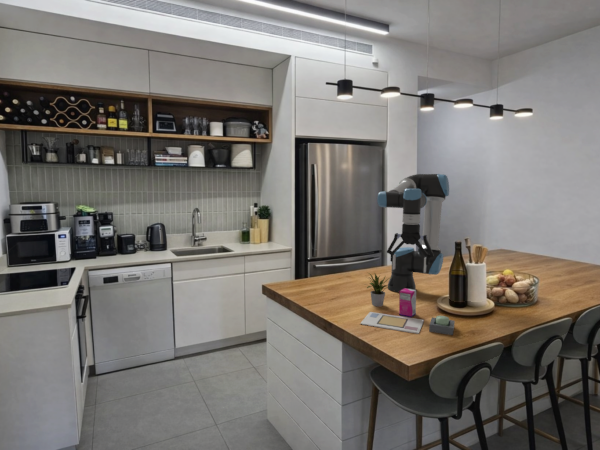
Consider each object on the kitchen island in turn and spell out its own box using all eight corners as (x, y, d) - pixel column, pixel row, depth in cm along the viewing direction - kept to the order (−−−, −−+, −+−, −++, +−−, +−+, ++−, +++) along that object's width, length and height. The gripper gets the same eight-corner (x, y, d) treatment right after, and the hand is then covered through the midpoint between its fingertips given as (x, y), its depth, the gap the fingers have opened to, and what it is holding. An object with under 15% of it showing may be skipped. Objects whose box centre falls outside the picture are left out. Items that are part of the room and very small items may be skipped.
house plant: (354, 303, 197) (355, 271, 195) (372, 298, 206) (373, 267, 204) (377, 311, 187) (378, 277, 185) (395, 305, 195) (396, 272, 193)
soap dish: (431, 324, 171) (432, 317, 170) (454, 327, 167) (454, 320, 167) (429, 331, 163) (429, 324, 162) (452, 335, 159) (453, 328, 159)
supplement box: (403, 311, 186) (404, 287, 185) (416, 314, 183) (417, 290, 181) (398, 314, 182) (399, 290, 180) (410, 317, 178) (411, 292, 177)
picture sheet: (369, 312, 184) (370, 311, 184) (424, 320, 174) (424, 319, 174) (360, 324, 170) (360, 322, 170) (418, 333, 160) (418, 332, 160)
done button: (436, 324, 168) (436, 315, 167) (448, 326, 166) (449, 316, 165) (434, 328, 163) (435, 318, 163) (447, 330, 161) (448, 320, 161)
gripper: (381, 222, 179) (379, 269, 181) (440, 226, 169) (437, 275, 171) (384, 221, 186) (383, 266, 188) (441, 224, 175) (439, 271, 178)
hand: (409, 270), depth 180 cm, fingers open, 13 cm apart
